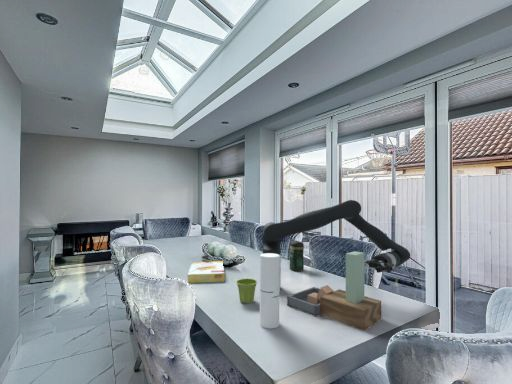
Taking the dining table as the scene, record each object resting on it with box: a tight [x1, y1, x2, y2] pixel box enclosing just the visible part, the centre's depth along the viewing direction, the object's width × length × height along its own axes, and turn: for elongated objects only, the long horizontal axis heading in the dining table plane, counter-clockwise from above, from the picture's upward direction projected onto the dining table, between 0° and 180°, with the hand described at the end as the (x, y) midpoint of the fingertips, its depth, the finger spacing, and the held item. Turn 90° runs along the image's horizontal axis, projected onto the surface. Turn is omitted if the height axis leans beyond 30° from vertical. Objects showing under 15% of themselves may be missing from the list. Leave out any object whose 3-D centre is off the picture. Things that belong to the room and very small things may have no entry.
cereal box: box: [187, 261, 226, 284], centre depth 166 cm, size 20×6×28 cm
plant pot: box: [235, 278, 258, 304], centre depth 125 cm, size 9×9×9 cm
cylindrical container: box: [259, 253, 281, 329], centre depth 102 cm, size 7×7×25 cm
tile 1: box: [307, 293, 320, 305], centre depth 120 cm, size 5×5×4 cm
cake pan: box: [200, 254, 213, 262], centre depth 198 cm, size 25×25×4 cm
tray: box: [286, 286, 321, 317], centre depth 121 cm, size 19×15×4 cm
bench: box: [319, 288, 382, 332], centre depth 109 cm, size 14×18×7 cm
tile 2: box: [316, 284, 335, 300], centre depth 117 cm, size 5×5×4 cm
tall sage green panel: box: [345, 251, 365, 304], centre depth 108 cm, size 7×4×18 cm, turn 133°
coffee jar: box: [289, 240, 305, 272], centre depth 180 cm, size 10×8×19 cm
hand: (367, 268), depth 114 cm, fingers open, 8 cm apart
